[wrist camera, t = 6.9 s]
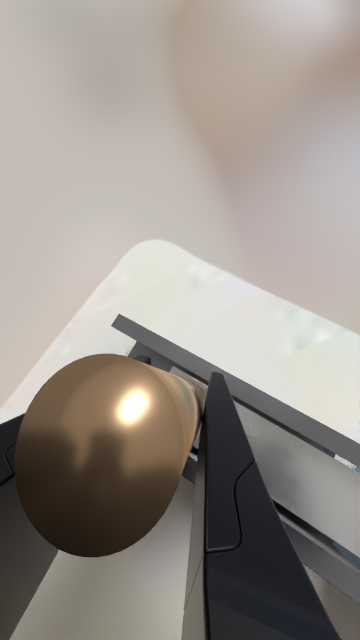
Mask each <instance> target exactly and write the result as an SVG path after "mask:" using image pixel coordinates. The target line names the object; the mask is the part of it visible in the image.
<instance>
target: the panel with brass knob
mask: <svg viewBox="0 0 360 640" xmlns="http://www.w3.org/2000/svg"><path fill="white" fill-rule="evenodd" d="M207 389H208V386H207V385H205V384H204V383H202V382H200V381H198V380H197V379H195V378H193V377H192V376H190V375H188V374H186V373H185V372H183V371H181V370H179V369H178V368H176V367H174V366H173V367H172V369H171V371H170V373H169V372H166V371H163V370H161V369H158V368H156V367H153V366H150V365H148V364H145V363H142V362H140V361H137V360H135V359H132V358H129V357H126V356H122V355H117V354H96V355H91V356H87V357H84V358H81V359H78V360H76V361H74V362H72V363H70V364H68V365H66V366H65V367H63V368H62V369H60V370H59V371H58V372H56V373H55V374H54V375H53V376H52V377H51V378H50V379H49V380H48V381H47V382H46V383H45V384H44V385H43V386H42V387H41V389H40V390H39V391H38V393H37V394H36V395H35V397H34V399H33V400H32V402H31V404H30V405H29V407H28V409H27V411H26V414H25V416H24V418H23V421H22V424H21V426H20V430H19V434H18V438H17V442H16V449H15V463H14V468H15V480H16V486H17V492H18V495H19V498H20V502H21V505H22V507H23V509H24V511H25V514H26V516H27V517H28V519H29V521H30V522H31V524H32V526H33V527H34V528H35V529H36V530H37V532H38V533H39V534H40V535H41V536H42V537H43V538H44V539H45V540H46V541H48V542H49V543H50V544H51V545H53V546H55V547H56V548H58V549H59V550H61V551H64V552H66V553H69V554H71V555H76V556H81V557H101V556H107V555H111V554H114V553H117V552H120V551H122V550H124V549H126V548H128V547H130V546H131V545H133V544H135V543H136V542H137V541H139V540H140V539H141V538H143V537H144V536H145V535H146V534H147V533H148V532H149V531H150V530H151V529H152V528H153V527H154V526H155V525H156V523H157V522H158V521H159V519H160V518H161V517H162V515H163V514H164V512H165V511H166V509H167V507H168V505H169V504H170V502H171V500H172V497H173V495H174V492H175V490H176V488H177V485H178V482H179V480H180V477H181V475H182V472H183V469H184V467H185V464H186V462H187V459H188V456H189V454H190V451H191V449H192V446H194V447H196V448H197V449H198V447H199V436H200V428H201V423H202V417H203V411H204V406H205V400H206V394H207ZM234 403H235V406H236V409H237V411H238V414H239V417H240V419H241V422H242V425H243V427H244V430H245V433H246V435H247V438H248V441H249V443H250V446H251V448H252V451H253V454H254V456H255V459H256V460H255V461H256V462H257V464H258V467H259V469H260V472H261V475H262V477H263V480H264V482H265V484H266V487H267V489H268V492H269V494H270V497H271V498H272V499H273V500H275V501H276V502H278V503H279V504H281V505H282V506H284V507H285V508H286V509H288V510H289V511H291V512H292V513H294V514H295V515H297V516H298V517H300V518H301V519H303V520H304V521H306V522H307V523H309V524H310V525H312V526H313V527H315V528H316V529H318V530H319V531H321V532H322V533H324V534H325V535H327V536H328V537H330V538H331V539H332V540H334V541H335V542H337V543H338V544H340V545H341V546H343V547H344V548H346V549H347V550H349V551H350V552H352V553H353V554H355V555H356V556H358V557H359V558H360V473H358V472H357V471H355V470H353V469H351V468H350V467H348V466H346V465H344V464H343V463H341V462H339V461H338V460H336V459H334V458H332V457H331V456H329V455H327V454H325V453H324V452H322V451H320V450H318V449H317V448H315V447H313V446H311V445H310V444H308V443H306V442H304V441H303V440H301V439H299V438H298V437H296V436H294V435H292V434H291V433H289V432H287V431H285V430H284V429H282V428H280V427H278V426H277V425H275V424H273V423H271V422H270V421H268V420H266V419H265V418H263V417H261V416H259V415H258V414H256V413H254V412H252V411H251V410H249V409H247V408H245V407H244V406H242V405H240V404H238V403H237V402H235V401H234Z"/></svg>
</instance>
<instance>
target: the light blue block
mask: <svg viewBox="0 0 360 640" xmlns="http://www.w3.org/2000/svg"><path fill="white" fill-rule="evenodd" d="M357 472H358V473H360V467H358V468H357ZM333 544H334V546H335V547H336V548H337V550H338V551H339V552H340V554H341V555H342V556H343V557H344V558H346V559H347V560H349V561H350V562H352V563H353V564H355V565H356V566H357V567H358V569H359V570H360V558H359V557H358V556H356V555H355V554H353V553H352V552H350V551H349V550H347V549H346V548H344V547H343V546H341V545H340V544H338V543H337V542H335V541H334V540H333Z"/></svg>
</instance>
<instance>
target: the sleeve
mask: <svg viewBox="0 0 360 640" xmlns="http://www.w3.org/2000/svg"><path fill="white" fill-rule="evenodd" d="M111 326H112V327H114V328H115V329H117V330H119V331H120V332H122V333H124V334H126V335H127V336H129V337H131V338H133V339H134V340H136V341H137V342H136V344H135V345H134V347H133V349H132V350H131V352H130V354H129V355H128V357H129V358H133V357H135V356H137V355H139V354H145V355H149V356H150V357H151V366H153V367H156V368H158V369H161V370H163V371H166V372H169V373H170V371H171V369H172V367H173V366H174V367H176V368H178V369H179V370H181V371H183V372H185V373H186V374H188V375H190V376H192V377H193V378H195V379H197V380H198V381H200V382H202V383H204V384H205V385H207V386H208V385H209V381H210V377H211V373H212V371H216V372H220V373H223V375H224V377H225V380H226V382H227V385H228V388H229V390H230V393H231V396H232V398H233V401H235V402H237V403H238V404H240V405H242V406H244V407H245V408H247V409H249V410H251V411H252V412H254V413H256V414H258V415H259V416H261V417H263V418H265V419H266V420H268V421H270V422H271V423H273V424H275V425H277V426H278V427H280V428H282V429H284V430H285V431H287V432H289V433H291V434H292V435H294V436H296V437H298V438H299V439H301V440H303V441H304V442H306V443H308V444H310V445H311V446H313V447H315V448H317V449H318V450H320V451H322V452H324V453H325V454H327V455H329V456H331V457H332V458H334V457H335V454H337V455H338V456H340V457H342V458H344V459H346V460H347V461H349V462H351V463H353V464H354V465H356V466H358V467H360V444H359V443H357V442H355V441H353V440H351V439H350V438H348V437H346V436H344V435H342V434H340V433H338V432H337V431H335V430H333V429H331V428H329V427H327V426H326V425H324V424H322V423H320V422H318V421H316V420H314V419H313V418H311V417H309V416H307V415H305V414H303V413H302V412H300V411H298V410H296V409H294V408H292V407H290V406H289V405H287V404H285V403H283V402H281V401H279V400H277V399H276V398H274V397H272V396H270V395H268V394H266V393H265V392H263V391H261V390H259V389H257V388H255V387H253V386H252V385H250V384H248V383H246V382H244V381H242V380H241V379H239V378H237V377H235V376H233V375H231V374H229V373H228V372H226V371H224V370H222V369H220V368H218V367H217V366H215V365H213V364H211V363H209V362H207V361H205V360H204V359H202V358H200V357H198V356H196V355H194V354H192V353H191V352H189V351H187V350H185V349H183V348H181V347H180V346H178V345H176V344H174V343H172V342H170V341H168V340H167V339H165V338H163V337H161V336H159V335H157V334H156V333H154V332H152V331H150V330H148V329H146V328H144V327H143V326H141V325H139V324H137V323H135V322H133V321H132V320H130V319H128V318H126V317H124V316H122V315H120V314H118V316H117V318H116V319H115V321H114V322H113V324H112V325H111ZM197 458H198V449H197V448H196V447H194V446H192V449H191V451H190V454H189V456H188V459H187V462H186V464H185V467H184V469H183V472H182V475H183V476H184V477H185V478H187V479H188V480H189V481H191V482H192V483H194V484H195V481H196V469H197ZM271 499H272V498H271ZM272 501H273V503H274V506H275V508H276V510H277V512H278V514H279V516H280V518H281V521H282V523H283V525H284V527H285V529H286V531H287V533H288V535H289V537H290V539H291V541H292V543H293V545H294V547H295V549H296V551H297V553H298V556H299V558H300V560H301V562H302V563H303V564H305V565H306V566H307V567H309V568H310V569H312V570H313V571H314V572H316V573H317V574H318V575H320V576H321V577H323V578H324V579H325V580H327V581H328V582H329V583H331V584H332V585H334V586H335V587H336V588H338V589H339V590H340V591H342V592H343V593H345V594H346V595H347V596H349V597H350V598H351V599H353V600H354V601H356V602H357V603H358V604H359V603H360V570H359V569H358V567H357V566H356V565H355V564H353V563H352V562H350V561H349V560H347V559H346V558H344V557H343V556H342V555H341V554H340V552H339V551H338V550H337V548H336V547H335V546H334V544H333V543H332V542H331V541H330V539H329V538H328V537H327V535H325V534H324V533H322V532H321V531H319V530H318V529H316V528H315V527H313V526H312V525H310V524H309V523H307V522H306V521H304V520H303V519H301V518H300V517H298V516H297V515H295V514H294V513H292V512H291V511H289V510H288V509H286V508H285V507H284V506H282V505H281V504H279V503H278V502H276V501H275V500H273V499H272Z"/></svg>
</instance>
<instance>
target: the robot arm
mask: <svg viewBox="0 0 360 640" xmlns="http://www.w3.org/2000/svg"><path fill="white" fill-rule="evenodd" d="M132 359H135V360H137V361H140V362H142V363H145V364H148V365H150V366H151V357H150V356H149V355H145V354H139V355H137V356H135V357H133V358H132ZM25 414H26V413H24V414H22V415H20V416H18V417H15V418H13V419H11V420H9V421H7V422H4V423H2V424H0V640H9V639H10V637H11V635H12V634H13V632H14V630H15V628H16V626H17V625H18V623H19V621H20V619H21V617H22V616H23V614H24V612H25V610H26V608H27V607H28V605H29V603H30V601H31V599H32V598H33V596H34V594H35V592H36V590H37V589H38V587H39V585H40V583H41V581H42V580H43V578H44V576H45V574H46V572H47V571H48V569H49V567H50V565H51V563H52V562H53V560H54V558H55V556H56V554H57V553H58V550H59V549H58V548H56V547H55V546H53V545H51V544H50V543H49V542H48V541H46V540H45V539H44V538H43V537H42V536H41V535H40V534H39V533H38V532H37V530H36V529H35V528H34V527H33V526H32V524H31V522H30V521H29V519H28V517H27V516H26V514H25V511H24V509H23V507H22V505H21V502H20V498H19V495H18V492H17V486H16V480H15V468H14V463H15V449H16V442H17V438H18V434H19V430H20V426H21V424H22V421H23V418H24V416H25ZM255 460H256V459H255V456H254V454H253V451H252V448H251V446H250V443H249V441H248V438H247V435H246V433H245V430H244V427H243V425H242V422H241V419H240V417H239V414H238V411H237V409H236V406H235V403H234V401H233V398H232V396H231V393H230V390H229V388H228V385H227V382H226V380H225V377H224V375H223V373H220V372H216V371H212V373H211V377H210V381H209V385H208V389H207V394H206V400H205V406H204V411H203V417H202V423H201V428H200V436H199V447H198V458H197V469H196V481H195V492H194V503H193V514H192V526H191V537H190V548H189V560H188V571H187V582H186V593H185V605H184V616H183V627H182V638H181V640H341V638H340V637H339V635H338V633H337V631H336V629H335V627H334V626H333V624H332V622H331V620H330V618H329V616H328V614H327V612H326V610H325V608H324V606H323V604H322V602H321V600H320V598H319V596H318V594H317V592H316V590H315V588H314V586H313V584H312V582H311V580H310V578H309V576H308V574H307V572H306V570H305V568H304V566H303V564H302V562H301V560H300V558H299V556H298V553H297V551H296V549H295V547H294V545H293V543H292V541H291V539H290V537H289V535H288V533H287V531H286V529H285V527H284V525H283V523H282V521H281V518H280V516H279V514H278V512H277V510H276V508H275V506H274V503H273V501H272V499H271V497H270V494H269V492H268V489H267V487H266V484H265V482H264V480H263V477H262V475H261V472H260V469H259V467H258V464H257V462H256V461H255Z"/></svg>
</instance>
